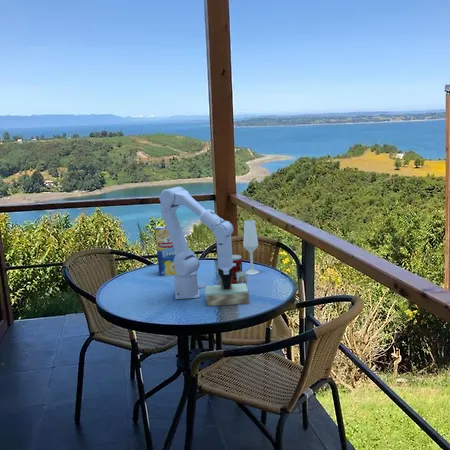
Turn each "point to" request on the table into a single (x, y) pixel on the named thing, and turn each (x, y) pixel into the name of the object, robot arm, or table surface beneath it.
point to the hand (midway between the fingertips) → (226, 287)
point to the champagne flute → (250, 242)
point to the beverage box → (165, 252)
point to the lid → (221, 291)
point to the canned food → (236, 268)
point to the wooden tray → (227, 299)
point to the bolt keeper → (240, 274)
